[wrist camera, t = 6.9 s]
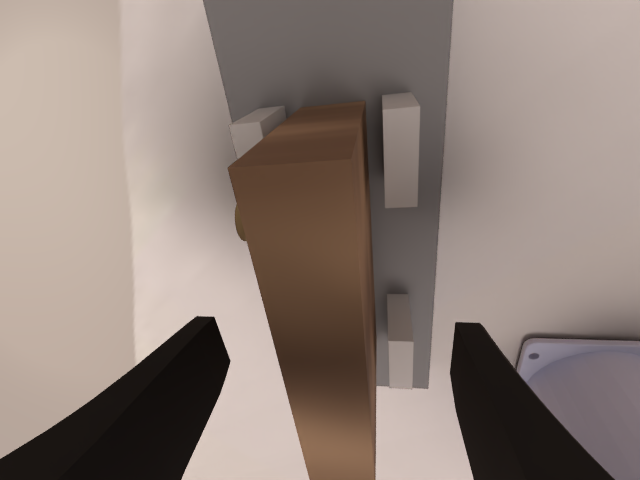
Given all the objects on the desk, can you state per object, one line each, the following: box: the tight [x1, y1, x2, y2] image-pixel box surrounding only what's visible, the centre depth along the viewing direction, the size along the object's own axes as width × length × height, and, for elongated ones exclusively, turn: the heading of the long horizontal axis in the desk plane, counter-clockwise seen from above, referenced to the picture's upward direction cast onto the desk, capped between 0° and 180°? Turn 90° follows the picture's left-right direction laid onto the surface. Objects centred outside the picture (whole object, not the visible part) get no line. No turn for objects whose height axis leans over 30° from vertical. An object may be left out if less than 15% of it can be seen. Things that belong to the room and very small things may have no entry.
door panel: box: [228, 101, 377, 480], centre depth 12 cm, size 12×3×7 cm, turn 7°
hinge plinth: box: [203, 0, 453, 389], centre depth 14 cm, size 20×8×4 cm, turn 7°
